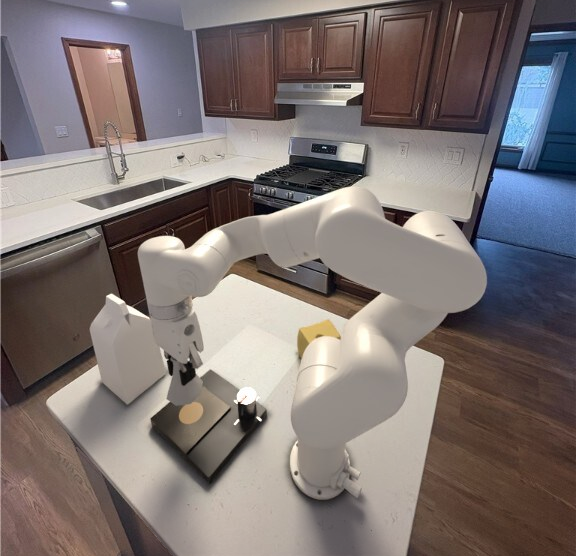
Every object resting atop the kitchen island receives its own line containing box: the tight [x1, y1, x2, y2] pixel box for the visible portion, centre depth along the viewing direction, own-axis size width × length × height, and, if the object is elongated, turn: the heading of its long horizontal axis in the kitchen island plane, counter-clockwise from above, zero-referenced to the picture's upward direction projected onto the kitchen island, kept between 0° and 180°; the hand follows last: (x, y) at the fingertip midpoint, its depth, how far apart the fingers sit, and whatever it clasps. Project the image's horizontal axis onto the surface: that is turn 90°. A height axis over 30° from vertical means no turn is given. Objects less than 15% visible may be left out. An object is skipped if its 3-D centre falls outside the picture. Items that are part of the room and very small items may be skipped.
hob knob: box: [237, 387, 257, 419], centre depth 73 cm, size 4×4×5 cm
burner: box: [149, 385, 231, 455], centre depth 73 cm, size 13×13×1 cm
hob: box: [150, 368, 268, 484], centre depth 74 cm, size 21×19×2 cm
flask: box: [166, 356, 203, 406], centre depth 64 cm, size 7×7×10 cm
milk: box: [89, 293, 167, 406], centre depth 80 cm, size 12×12×26 cm
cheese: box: [296, 318, 341, 360], centre depth 89 cm, size 10×11×10 cm
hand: (182, 375), depth 64 cm, fingers closed on flask, 3 cm apart
